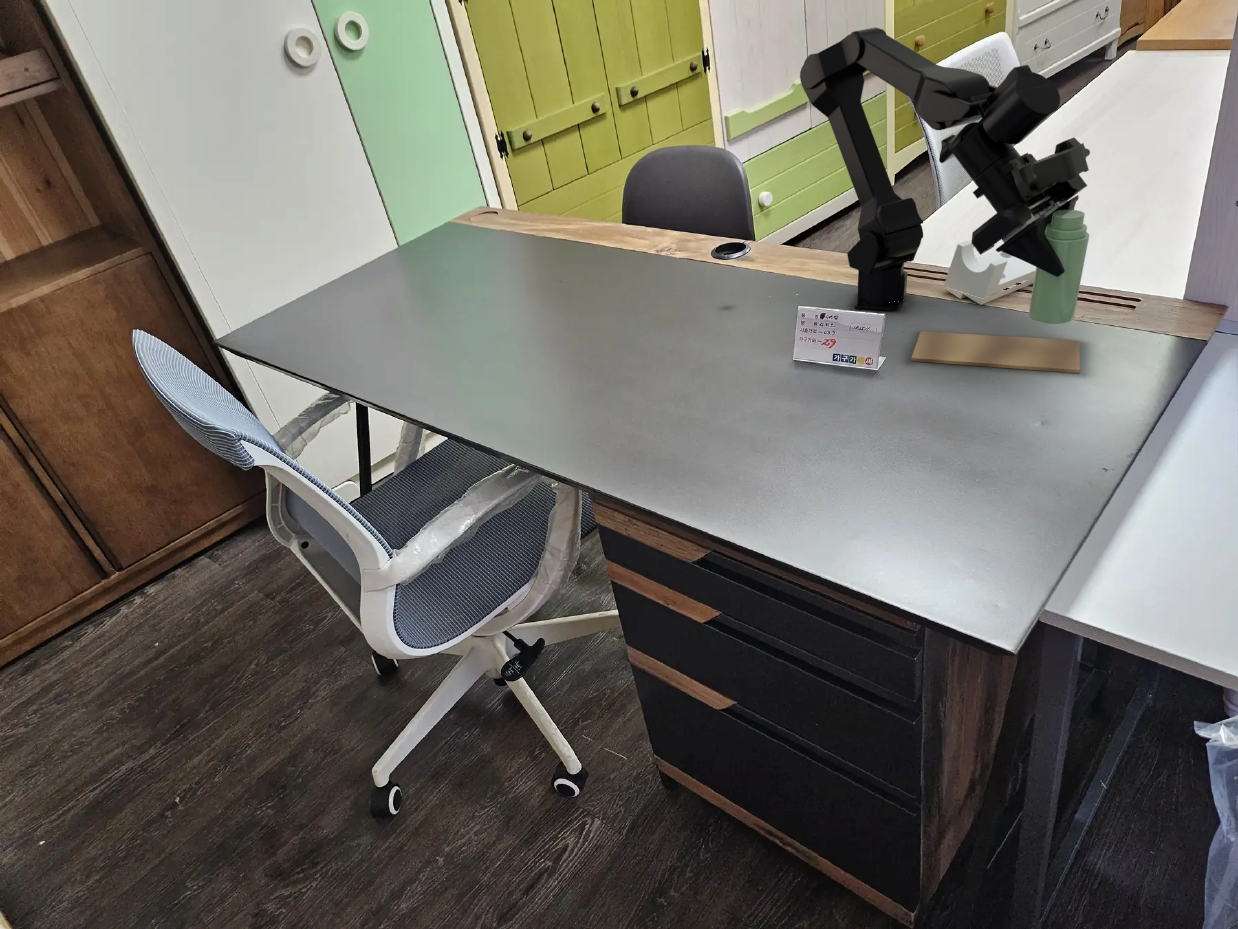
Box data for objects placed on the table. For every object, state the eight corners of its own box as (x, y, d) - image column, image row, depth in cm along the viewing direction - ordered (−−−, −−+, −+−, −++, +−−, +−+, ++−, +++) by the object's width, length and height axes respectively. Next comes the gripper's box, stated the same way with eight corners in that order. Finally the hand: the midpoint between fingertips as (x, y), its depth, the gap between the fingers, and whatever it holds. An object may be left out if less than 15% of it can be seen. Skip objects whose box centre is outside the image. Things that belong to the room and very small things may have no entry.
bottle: (1027, 322, 106) (1044, 219, 99) (1029, 306, 110) (1045, 206, 103) (1074, 325, 104) (1093, 220, 97) (1074, 309, 108) (1093, 207, 101)
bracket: (978, 310, 127) (995, 265, 121) (943, 287, 131) (957, 243, 126) (1035, 286, 132) (1054, 243, 126) (999, 265, 136) (1015, 222, 131)
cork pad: (911, 361, 113) (911, 357, 113) (920, 334, 120) (920, 330, 119) (1079, 373, 105) (1080, 369, 105) (1079, 344, 112) (1079, 340, 111)
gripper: (1010, 137, 93) (1096, 251, 91) (1083, 104, 103) (1162, 206, 101) (937, 201, 102) (1014, 305, 100) (1011, 164, 112) (1082, 259, 110)
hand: (1071, 267), depth 103 cm, fingers closed on bottle, 5 cm apart
